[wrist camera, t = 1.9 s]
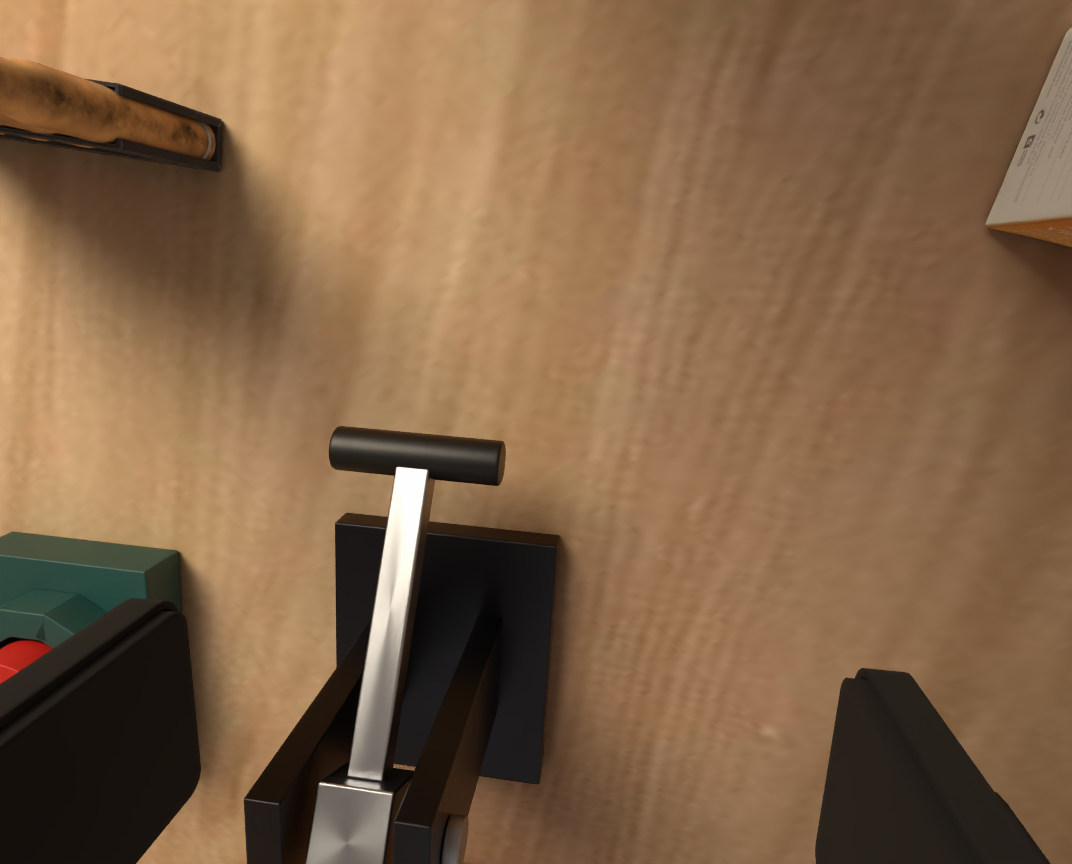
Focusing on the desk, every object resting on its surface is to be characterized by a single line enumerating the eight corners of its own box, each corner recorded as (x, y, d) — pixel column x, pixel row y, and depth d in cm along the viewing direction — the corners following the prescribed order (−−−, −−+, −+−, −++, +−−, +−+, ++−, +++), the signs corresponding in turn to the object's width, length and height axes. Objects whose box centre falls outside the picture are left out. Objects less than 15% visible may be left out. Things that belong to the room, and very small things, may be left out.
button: (-16, 633, 28) (-57, 657, 26) (84, 646, 27) (48, 671, 25) (-2, 726, 29) (-41, 755, 27) (95, 740, 28) (61, 770, 27)
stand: (345, 512, 28) (161, 676, 17) (560, 534, 27) (516, 725, 16) (347, 737, 31) (188, 1010, 20) (542, 765, 30) (494, 1069, 19)
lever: (353, 434, 24) (326, 417, 21) (509, 449, 23) (499, 433, 21) (280, 851, 21) (240, 884, 18) (456, 880, 20) (438, 917, 18)
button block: (12, 531, 31) (-76, 569, 27) (178, 550, 30) (112, 592, 26) (38, 722, 33) (-40, 783, 29) (192, 745, 32) (134, 810, 28)
